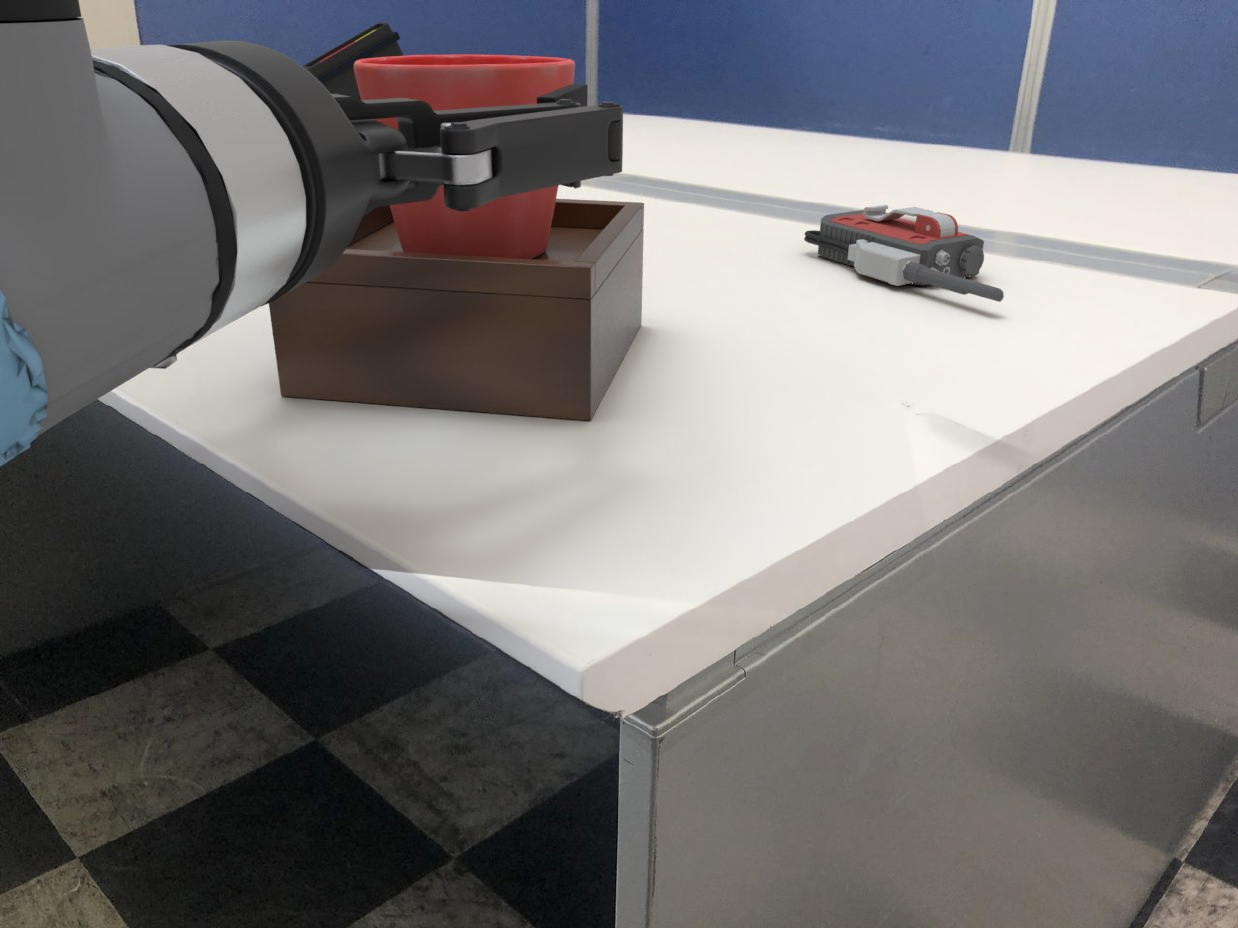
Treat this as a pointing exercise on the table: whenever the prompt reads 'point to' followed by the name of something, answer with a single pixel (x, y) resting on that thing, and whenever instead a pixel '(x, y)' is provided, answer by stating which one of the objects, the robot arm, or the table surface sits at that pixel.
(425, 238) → the flower pot
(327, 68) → the magazine
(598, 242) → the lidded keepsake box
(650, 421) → the table surface
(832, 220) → the walkie-talkie
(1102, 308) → the table surface
